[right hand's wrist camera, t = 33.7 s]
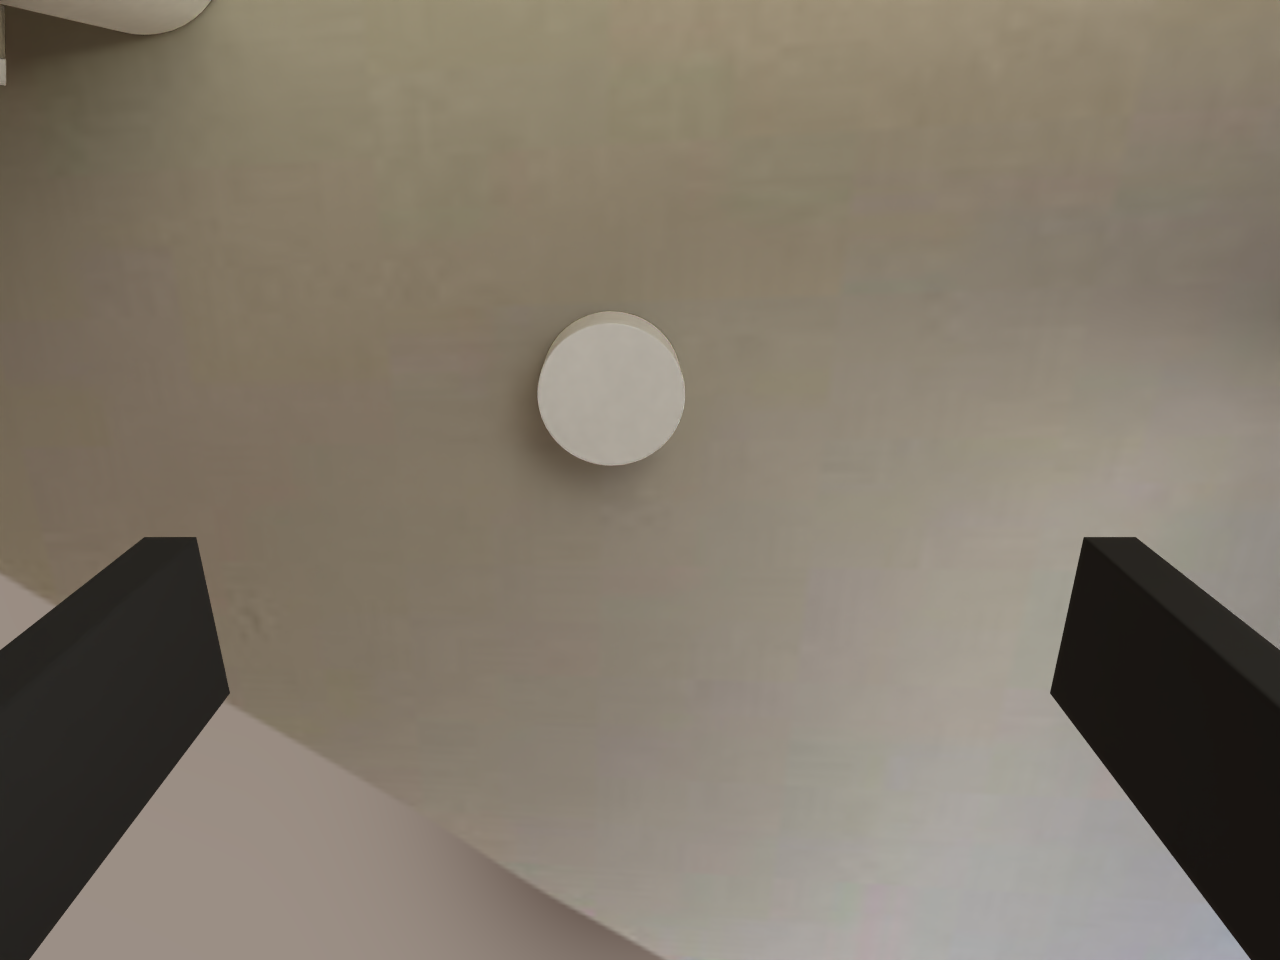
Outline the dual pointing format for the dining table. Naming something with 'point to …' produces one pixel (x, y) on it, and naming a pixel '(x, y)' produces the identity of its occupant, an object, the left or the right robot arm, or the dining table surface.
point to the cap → (611, 389)
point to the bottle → (120, 13)
